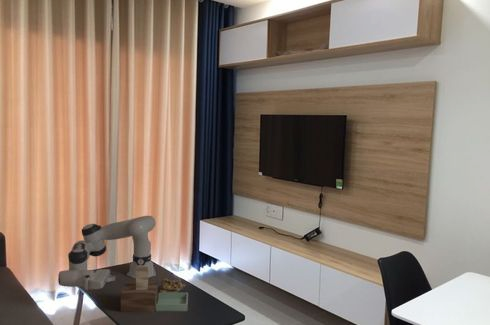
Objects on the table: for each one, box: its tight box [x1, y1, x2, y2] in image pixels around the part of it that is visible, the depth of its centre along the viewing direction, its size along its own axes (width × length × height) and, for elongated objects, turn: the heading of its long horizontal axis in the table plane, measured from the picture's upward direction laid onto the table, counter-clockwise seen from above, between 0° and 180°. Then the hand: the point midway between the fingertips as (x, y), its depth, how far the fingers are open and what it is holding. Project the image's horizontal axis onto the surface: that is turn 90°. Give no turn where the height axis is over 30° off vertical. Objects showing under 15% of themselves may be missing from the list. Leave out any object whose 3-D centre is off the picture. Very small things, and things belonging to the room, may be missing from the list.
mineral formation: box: [158, 277, 186, 293], centre depth 253 cm, size 8×13×15 cm
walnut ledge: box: [120, 282, 159, 313], centre depth 233 cm, size 16×18×10 cm
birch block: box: [135, 266, 149, 290], centre depth 232 cm, size 5×6×12 cm
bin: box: [155, 292, 189, 313], centre depth 236 cm, size 16×17×4 cm
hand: (115, 278), depth 231 cm, fingers closed
